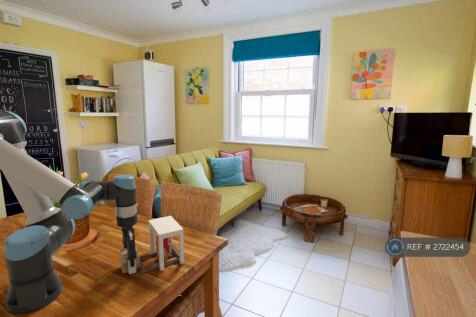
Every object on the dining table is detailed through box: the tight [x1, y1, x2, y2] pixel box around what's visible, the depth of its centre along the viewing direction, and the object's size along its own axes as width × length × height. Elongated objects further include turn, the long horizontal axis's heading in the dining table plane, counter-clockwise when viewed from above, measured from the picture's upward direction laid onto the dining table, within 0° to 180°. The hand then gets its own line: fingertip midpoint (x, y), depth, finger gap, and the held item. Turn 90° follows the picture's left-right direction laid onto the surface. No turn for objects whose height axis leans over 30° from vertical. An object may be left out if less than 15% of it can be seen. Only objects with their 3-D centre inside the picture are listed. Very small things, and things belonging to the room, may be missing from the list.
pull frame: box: [119, 243, 180, 274], centre depth 109 cm, size 23×11×8 cm, turn 123°
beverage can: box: [155, 235, 173, 261], centre depth 112 cm, size 6×6×12 cm
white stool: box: [148, 215, 185, 272], centre depth 112 cm, size 10×16×16 cm, turn 33°
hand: (130, 267), depth 106 cm, fingers open, 7 cm apart
